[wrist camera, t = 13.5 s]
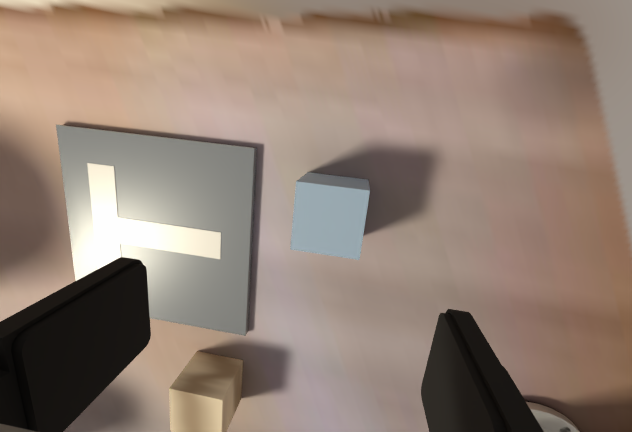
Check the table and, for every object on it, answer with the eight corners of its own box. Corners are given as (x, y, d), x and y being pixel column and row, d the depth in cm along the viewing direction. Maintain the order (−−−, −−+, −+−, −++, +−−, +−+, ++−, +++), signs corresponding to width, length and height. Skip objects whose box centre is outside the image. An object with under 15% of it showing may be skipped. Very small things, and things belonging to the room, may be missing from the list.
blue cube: (368, 179, 25) (370, 190, 20) (359, 236, 27) (359, 259, 22) (308, 172, 26) (296, 181, 21) (302, 228, 27) (290, 249, 22)
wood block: (243, 359, 32) (222, 400, 27) (241, 398, 33) (221, 442, 28) (197, 350, 32) (169, 388, 28) (197, 388, 34) (170, 431, 29)
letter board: (256, 147, 26) (254, 148, 25) (247, 331, 31) (245, 336, 30) (62, 124, 28) (55, 124, 27) (83, 301, 33) (78, 305, 32)
